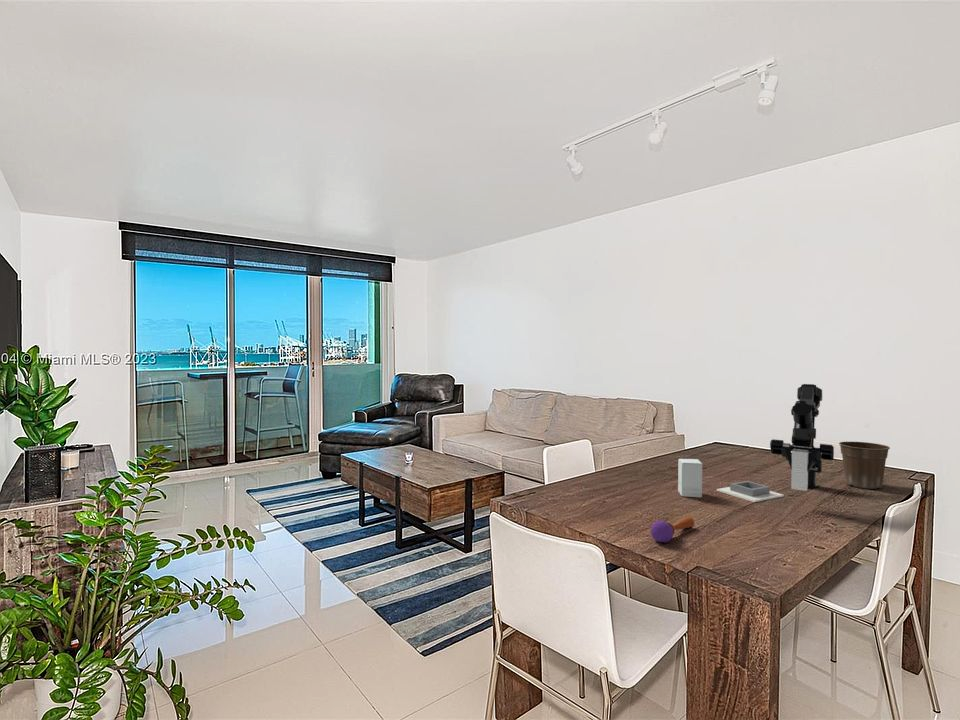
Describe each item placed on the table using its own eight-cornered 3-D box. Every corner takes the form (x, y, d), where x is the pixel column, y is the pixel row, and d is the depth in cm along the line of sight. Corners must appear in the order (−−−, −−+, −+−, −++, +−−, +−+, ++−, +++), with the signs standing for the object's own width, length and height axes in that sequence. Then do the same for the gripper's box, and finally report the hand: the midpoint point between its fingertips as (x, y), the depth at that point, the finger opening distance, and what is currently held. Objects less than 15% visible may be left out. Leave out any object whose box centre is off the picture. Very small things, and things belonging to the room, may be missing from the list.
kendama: (700, 517, 159) (668, 528, 145) (696, 535, 160) (663, 548, 146) (682, 508, 163) (649, 518, 150) (677, 526, 164) (644, 538, 150)
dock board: (745, 487, 207) (745, 477, 207) (783, 497, 193) (784, 488, 193) (716, 492, 200) (716, 482, 200) (754, 503, 186) (754, 493, 186)
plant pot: (832, 478, 217) (833, 439, 217) (879, 481, 212) (880, 442, 212) (845, 488, 202) (846, 447, 202) (896, 492, 197) (897, 450, 196)
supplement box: (702, 497, 191) (702, 463, 191) (681, 496, 193) (681, 462, 192) (698, 492, 198) (698, 459, 198) (677, 490, 200) (678, 458, 199)
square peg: (792, 485, 182) (793, 448, 182) (807, 487, 180) (808, 450, 179) (791, 488, 179) (792, 451, 178) (806, 490, 176) (807, 452, 175)
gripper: (771, 416, 187) (766, 453, 178) (834, 421, 176) (832, 460, 167) (773, 435, 194) (769, 471, 185) (834, 440, 183) (832, 479, 174)
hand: (799, 470), depth 178 cm, fingers closed on square peg, 4 cm apart
